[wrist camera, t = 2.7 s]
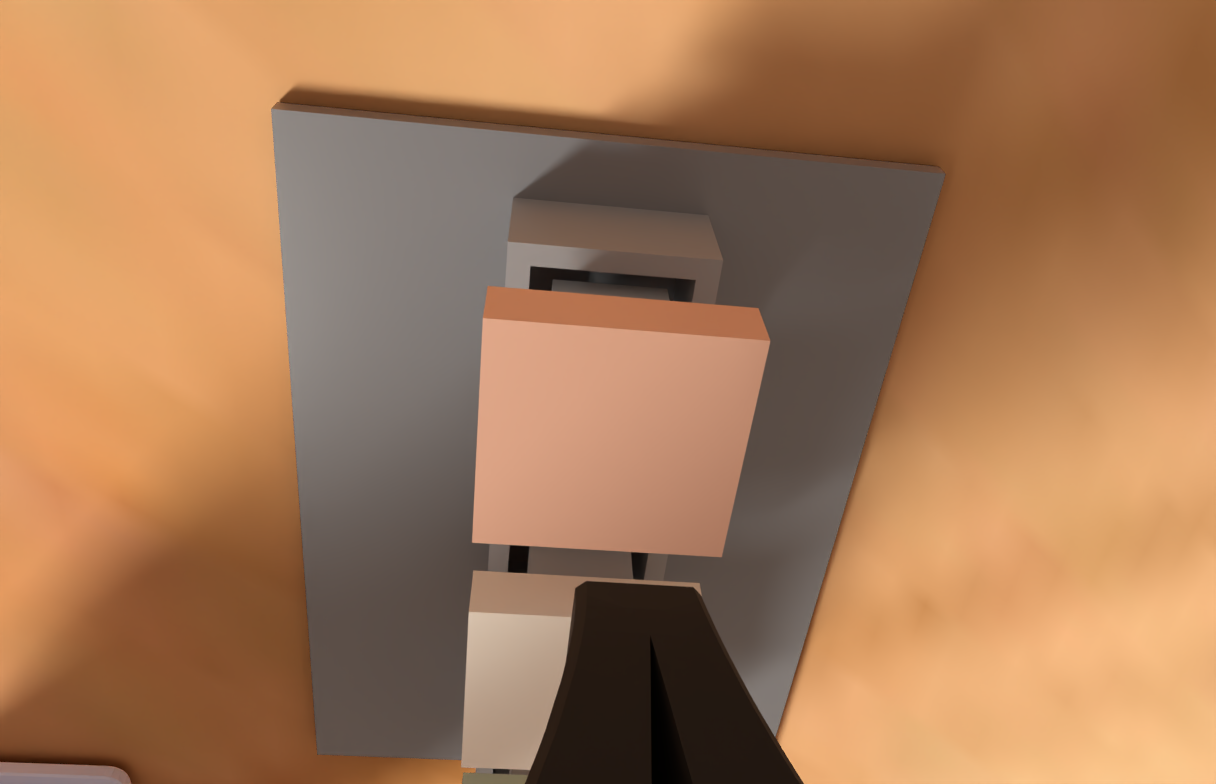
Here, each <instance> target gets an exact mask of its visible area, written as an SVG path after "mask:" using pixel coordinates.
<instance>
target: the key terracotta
mask: <svg viewBox="0 0 1216 784" xmlns="http://www.w3.org/2000/svg"><path fill="white" fill-rule="evenodd" d="M769 345H770V338H769V335H768V333H767V330H766V327H765V325H764V322H763V319H762V316H761V314H760V311H759V308H751V307H739V306H727V305H714V304H702V303H690V302H678V301H670V300H669V295H668V290H667V289H663V288H651V287H639V286H627V285H615V284H603V283H591V282H579V281H567V280H555V279H553V282H552V291H544V290H532V289H520V288H507V287H495V286H488V287H487V294H486V300H485V307H484V314H483V325H482V346H481V367H480V388H479V409H478V429H477V450H476V471H475V492H474V513H473V533H472V543H486V544H503V545H520V546H537V547H554V548H572V549H589V550H606V551H623V552H640V553H657V554H675V555H692V556H709V557H722V554H723V549H724V545H725V540H726V536H727V531H728V527H729V523H730V518H731V514H732V509H733V505H734V500H735V496H736V491H737V487H738V483H739V478H740V474H741V469H742V465H743V460H744V456H745V452H746V447H747V443H748V438H749V434H750V429H751V425H752V421H753V416H754V412H755V407H756V403H757V398H758V394H759V390H760V385H761V381H762V376H763V372H764V367H765V363H766V359H767V354H768V350H769Z"/></svg>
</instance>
